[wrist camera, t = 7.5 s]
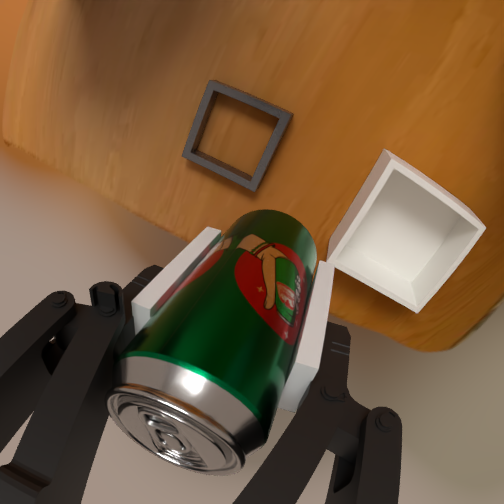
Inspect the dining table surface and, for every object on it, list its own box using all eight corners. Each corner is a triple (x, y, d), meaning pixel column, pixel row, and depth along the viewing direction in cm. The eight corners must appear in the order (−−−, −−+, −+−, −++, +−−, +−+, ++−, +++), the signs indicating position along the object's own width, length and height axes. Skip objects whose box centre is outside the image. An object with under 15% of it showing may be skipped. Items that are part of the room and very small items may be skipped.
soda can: (235, 285, 19) (131, 452, 9) (223, 206, 17) (65, 359, 7) (318, 290, 18) (264, 493, 8) (316, 205, 16) (244, 412, 5)
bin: (329, 238, 33) (326, 262, 29) (384, 148, 27) (391, 158, 23) (411, 285, 32) (417, 313, 28) (469, 208, 26) (486, 227, 22)
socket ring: (188, 153, 33) (181, 156, 31) (215, 80, 28) (209, 79, 27) (258, 187, 32) (254, 192, 31) (293, 113, 28) (291, 114, 26)
